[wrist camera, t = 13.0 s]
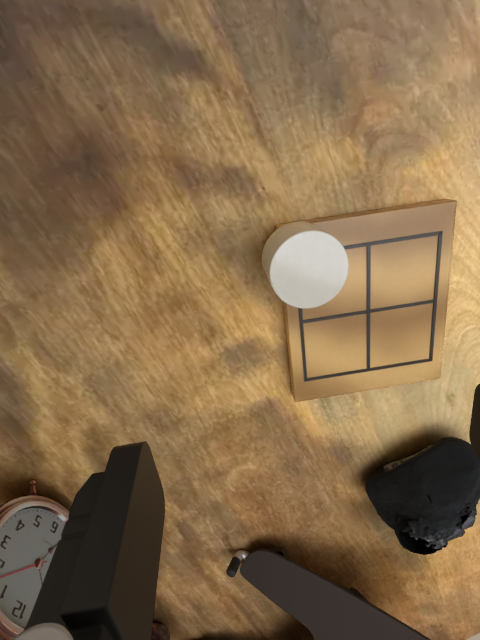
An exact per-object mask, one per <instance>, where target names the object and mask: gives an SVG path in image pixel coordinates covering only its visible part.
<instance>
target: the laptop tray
mask: <svg viewBox="0 0 480 640" xmlns="http://www.w3.org/2000/svg"><path fill="white" fill-rule="evenodd" d="M241 559H243V560H244V561H243V563H242V565H241V568H240V573H241V575H242V576H243V577H244V578H245V579H246V580H247V581H249V582H250V583H251V584H252V585H253V586H254V587H256V588H257V589H258V590H259V591H260V592H262V593H263V594H264V595H265V596H266V597H268V598H269V599H270V600H271V601H273V602H274V603H275V604H276V605H278V606H279V607H280V608H282V609H283V610H284V611H286V612H287V613H288V614H290V615H291V616H292V617H294V618H295V619H296V620H298V621H299V622H300V623H302V624H303V625H304V626H306V627H307V628H308V629H309V631H310V632H311V633H312V635H313V637H314V640H430V639H429V638H427V637H426V636H424V635H422V634H421V633H419V632H418V631H416V630H414V629H413V628H411V627H409V626H408V625H406V624H404V623H403V622H401V621H399V620H398V619H396V618H394V617H393V616H391V615H389V614H388V613H386V612H384V611H383V610H381V609H379V608H377V607H376V606H374V605H372V604H371V603H369V602H368V601H367V600H366V599H365V598H364V597H363V596H362V595H361V594H360V593H359V592H358V591H357V590H356V589H355V588H349V590H346V589H345V588H343V587H341V586H339V585H338V584H336V583H334V582H332V581H330V580H328V579H327V578H325V577H323V576H321V575H319V574H317V573H315V572H313V571H312V570H310V569H308V568H306V567H304V566H302V565H300V564H298V563H296V562H294V561H292V560H290V558H289V556H288V555H287V554H286V552H285V549H284V547H275V546H270V548H269V550H268V549H256V550H254V551H252V552H251V553H249V552H247V551H244V550H239V551H237V552H236V553H235V555H234V557H233V558H232V560H231V562H230V564H229V566H228V569H227V571H226V572H227V575H228V576H229V577H234V576H235V574H236V572H237V570H238V567H239V565H240V562H241Z"/></svg>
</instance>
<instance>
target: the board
mask: <svg viewBox="0 0 480 640" xmlns="http://www.w3.org/2000/svg"><path fill="white" fill-rule="evenodd" d="M456 203H457V201H455V200H450V199H442V200H436V201H429V202H423V203H416V204H410V205H403V206H397V207H390V208H383V209H377V210H370V211H364V212H357V213H351V214H344V215H338V216H331V217H324V218H318V219H311V220H305V221H300V222H308V223H311V224H314V225H316V226H318V227H319V228H321V229H322V230H324V231H326V232H327V233H329V234H331V235H332V236H334V237H335V238H336V239H337V240H338V241H339V242H340V243H341V244H342V245H343V247H344V249H345V250H346V253H347V256H348V262H349V270H348V276H347V279H346V281H345V284H344V286H343V287H342V289H341V290H340V292H339V293H338V294H337V295H336V296H335V297H334V298H333V299H331V300H330V301H329V302H327V303H325V304H323V305H321V306H318V307H314V308H307V309H306V308H296V307H293V306H290V305H288V304H286V303H285V302H283V305H284V315H285V326H286V336H287V346H288V357H289V367H290V378H291V388H292V395H293V398H294V401H295V402H299V401H306V400H312V399H318V398H324V397H330V396H336V395H342V394H348V393H355V392H361V391H367V390H373V389H379V388H385V387H391V386H398V385H404V384H410V383H416V382H422V381H428V380H434V379H440V378H441V367H442V356H443V345H444V334H445V323H446V312H447V301H448V290H449V279H450V268H451V257H452V247H453V236H454V225H455V214H456ZM298 222H299V221H298ZM285 224H288V223H285ZM285 224H279V225H276V230H277V229H278V228H280V227H281V226H283V225H285Z"/></svg>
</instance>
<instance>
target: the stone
mask: <svg viewBox="0 0 480 640" xmlns="http://www.w3.org/2000/svg"><path fill="white" fill-rule="evenodd" d="M262 265H263V269H264V272H265V274H266V276H267V278H268V280H269V282H270V284H271V286H272V288H273V290H274V292H275V293H276V295H277V296H278V297H279V298H280V299H281V300H282V301H283V302H285V303H286V304H288V305H290V306H293V307H296V308H306V309H307V308H314V307H318V306H321V305H323V304H325V303H327V302H329V301H330V300H331V299H333V298H334V297H335V296H336V295H337V294H338V293H339V292H340V290H341V289H342V287H343V286H344V284H345V281H346V279H347V276H348V270H349V262H348V256H347V253H346V250H345V249H344V247H343V245H342V244H341V243H340V242H339V241H338V240H337V239H336V238H335V237H334V236H332V235H331V234H329V233H327V232H326V231H324V230H322V229H321V228H319V227H318V226H316V225H314V224H311V223H308V222H300V221H299V222H292V223H288V224H285V225H283V226H281V227H280V228H278V229H277V230H276V231H275V232H274V233H273V234H272V235H271V236H270V237H269V239H268V240H267V242H266V244H265V246H264V249H263V253H262Z"/></svg>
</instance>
